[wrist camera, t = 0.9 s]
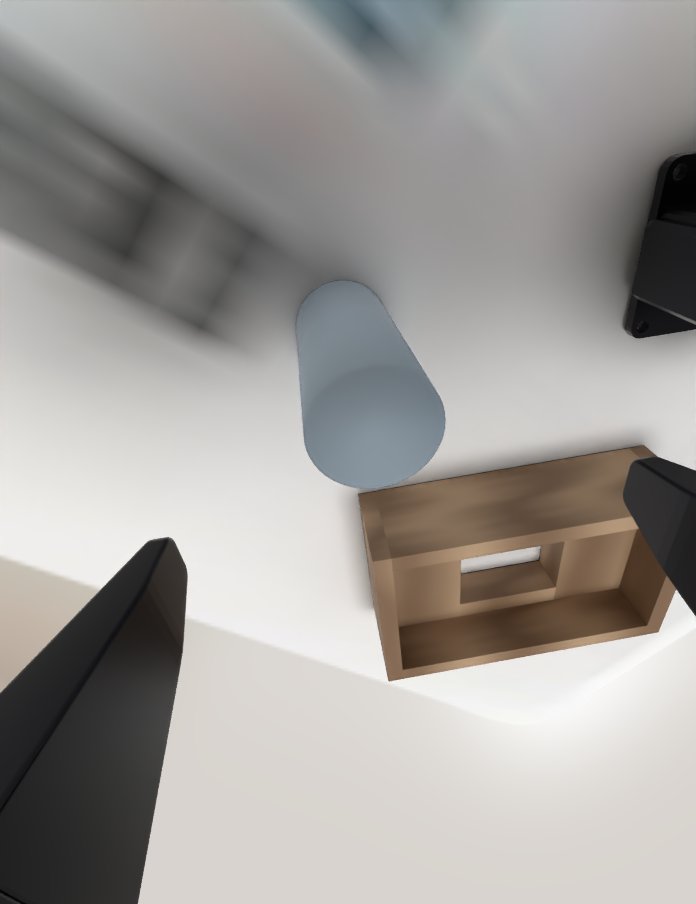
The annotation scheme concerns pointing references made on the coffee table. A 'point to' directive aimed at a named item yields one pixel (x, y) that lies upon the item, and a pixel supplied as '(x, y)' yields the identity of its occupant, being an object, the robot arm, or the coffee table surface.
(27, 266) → the coffee table surface
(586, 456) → the caddy
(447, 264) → the coffee table surface
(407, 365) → the peg
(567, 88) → the coffee table surface
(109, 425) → the coffee table surface
